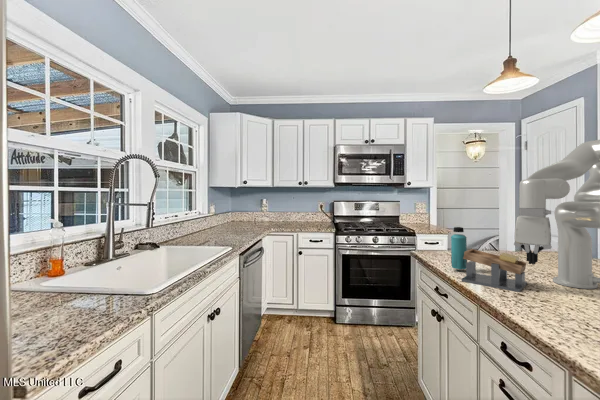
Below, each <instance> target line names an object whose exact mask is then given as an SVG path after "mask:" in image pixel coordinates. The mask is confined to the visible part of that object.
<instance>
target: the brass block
mask: <svg viewBox="0 0 600 400" xmlns="http://www.w3.org/2000/svg"><path fill="white" fill-rule="evenodd" d="M499 256H500V258H499V260H501V261H505V262H508V263H512V264H516V265H517V264H518V261H520V260H519V259H520V256H519V255H515V254H510V253H506V252H502V253H501V254H500V255H499Z"/></svg>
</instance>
